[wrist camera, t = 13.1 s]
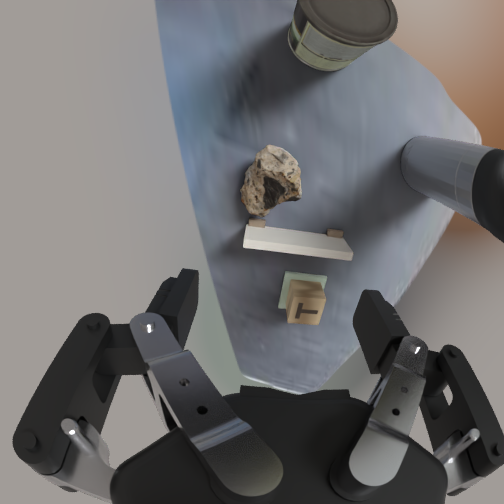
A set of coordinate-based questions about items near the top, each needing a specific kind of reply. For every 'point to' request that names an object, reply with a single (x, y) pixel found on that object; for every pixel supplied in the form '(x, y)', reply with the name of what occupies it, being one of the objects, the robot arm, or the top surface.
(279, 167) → the rock
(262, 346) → the top surface
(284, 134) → the top surface
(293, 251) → the screen
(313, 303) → the letter cube
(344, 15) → the coffee can
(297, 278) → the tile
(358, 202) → the top surface
